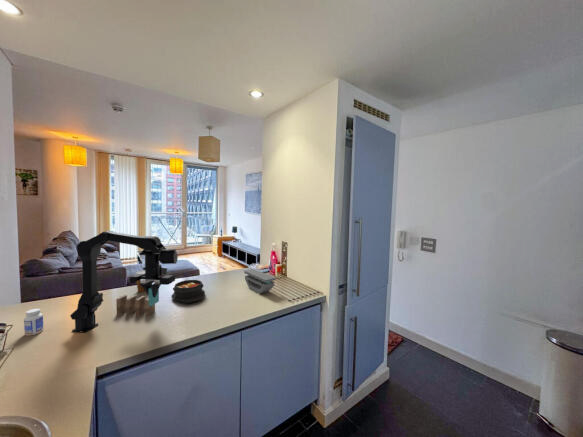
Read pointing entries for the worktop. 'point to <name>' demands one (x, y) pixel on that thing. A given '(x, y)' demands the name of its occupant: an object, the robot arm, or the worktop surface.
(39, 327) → the pill bottle
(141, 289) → the disposable coffee cup
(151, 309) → the domino
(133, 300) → the domino
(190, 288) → the casserole
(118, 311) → the domino
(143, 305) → the domino
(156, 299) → the teal domino
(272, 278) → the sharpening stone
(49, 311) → the worktop surface
